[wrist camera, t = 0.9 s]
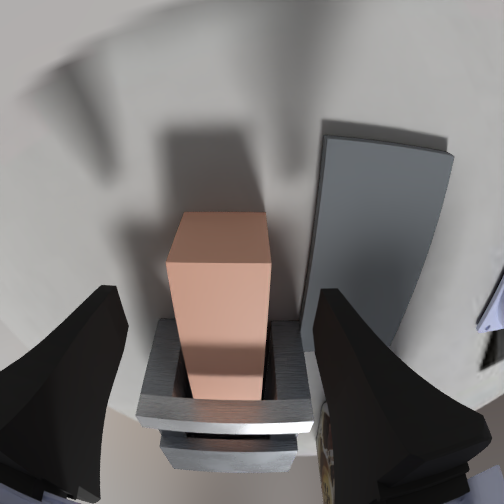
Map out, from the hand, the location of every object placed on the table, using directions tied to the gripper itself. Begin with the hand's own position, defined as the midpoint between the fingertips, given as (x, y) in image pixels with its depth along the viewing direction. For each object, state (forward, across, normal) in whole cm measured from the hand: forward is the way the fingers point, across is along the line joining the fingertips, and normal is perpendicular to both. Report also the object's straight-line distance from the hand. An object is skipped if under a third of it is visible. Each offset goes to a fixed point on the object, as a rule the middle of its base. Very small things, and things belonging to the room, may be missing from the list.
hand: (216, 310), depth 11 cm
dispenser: (+4, 0, +10) cm, 11 cm away
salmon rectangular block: (+4, 0, +4) cm, 6 cm away
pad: (+4, -7, +1) cm, 8 cm away
